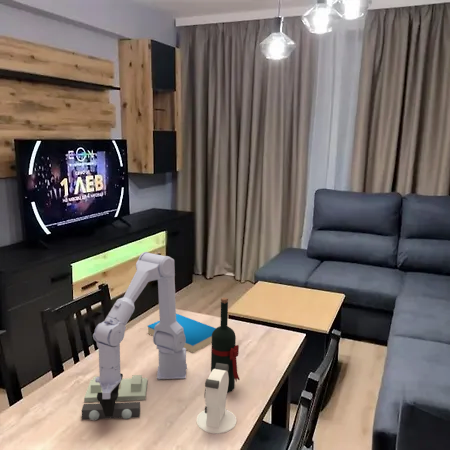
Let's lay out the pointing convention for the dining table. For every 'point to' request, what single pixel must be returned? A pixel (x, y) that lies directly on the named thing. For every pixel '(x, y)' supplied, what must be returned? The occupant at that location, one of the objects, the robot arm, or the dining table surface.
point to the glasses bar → (120, 411)
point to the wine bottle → (225, 346)
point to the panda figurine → (216, 403)
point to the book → (191, 333)
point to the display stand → (120, 389)
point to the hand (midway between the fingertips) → (111, 407)
